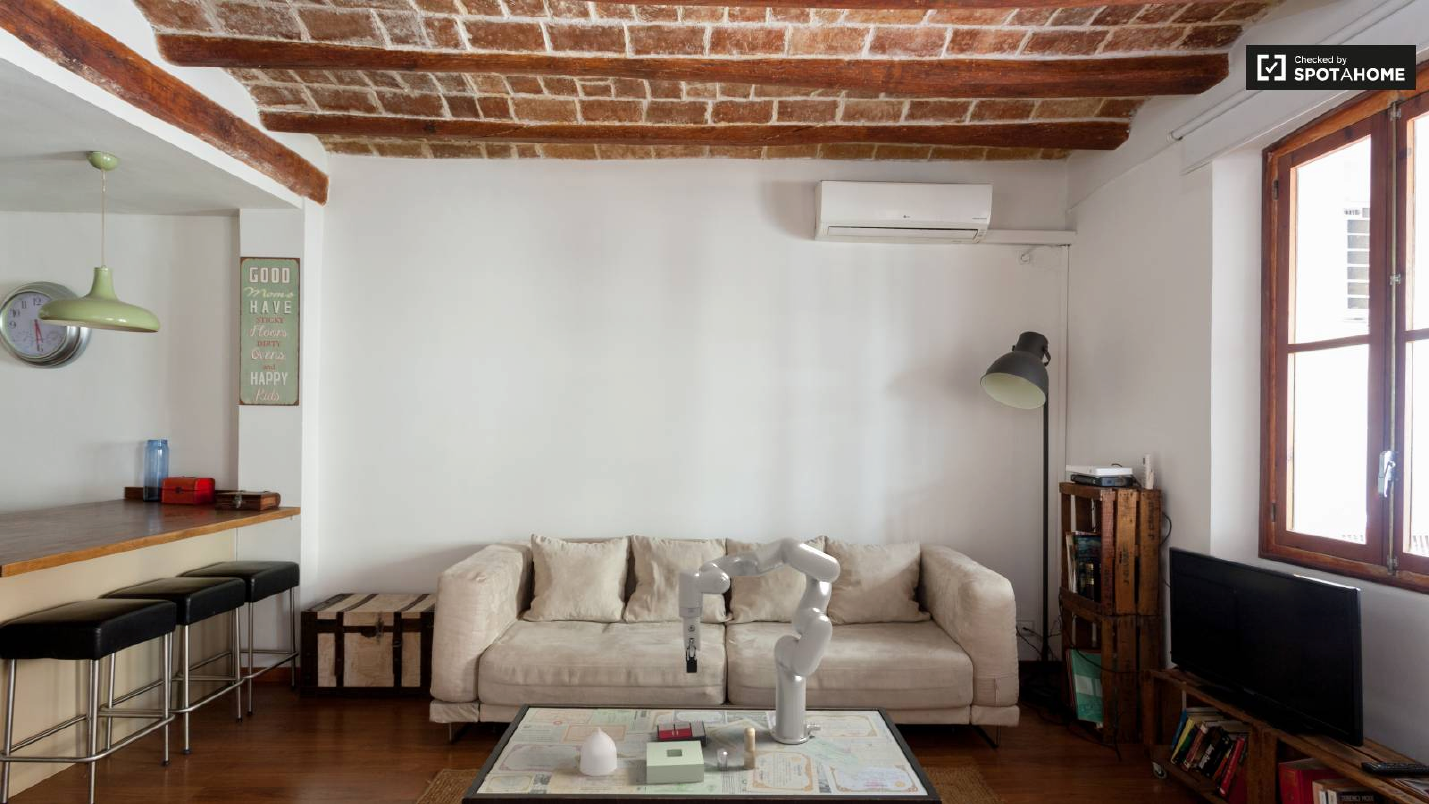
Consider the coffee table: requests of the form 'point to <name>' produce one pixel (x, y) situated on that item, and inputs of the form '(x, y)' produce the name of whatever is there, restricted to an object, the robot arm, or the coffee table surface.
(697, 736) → the calculator
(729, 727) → the coffee table surface
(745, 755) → the long pin
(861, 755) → the coffee table surface
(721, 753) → the short pin
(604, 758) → the teardrop
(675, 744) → the peg block
